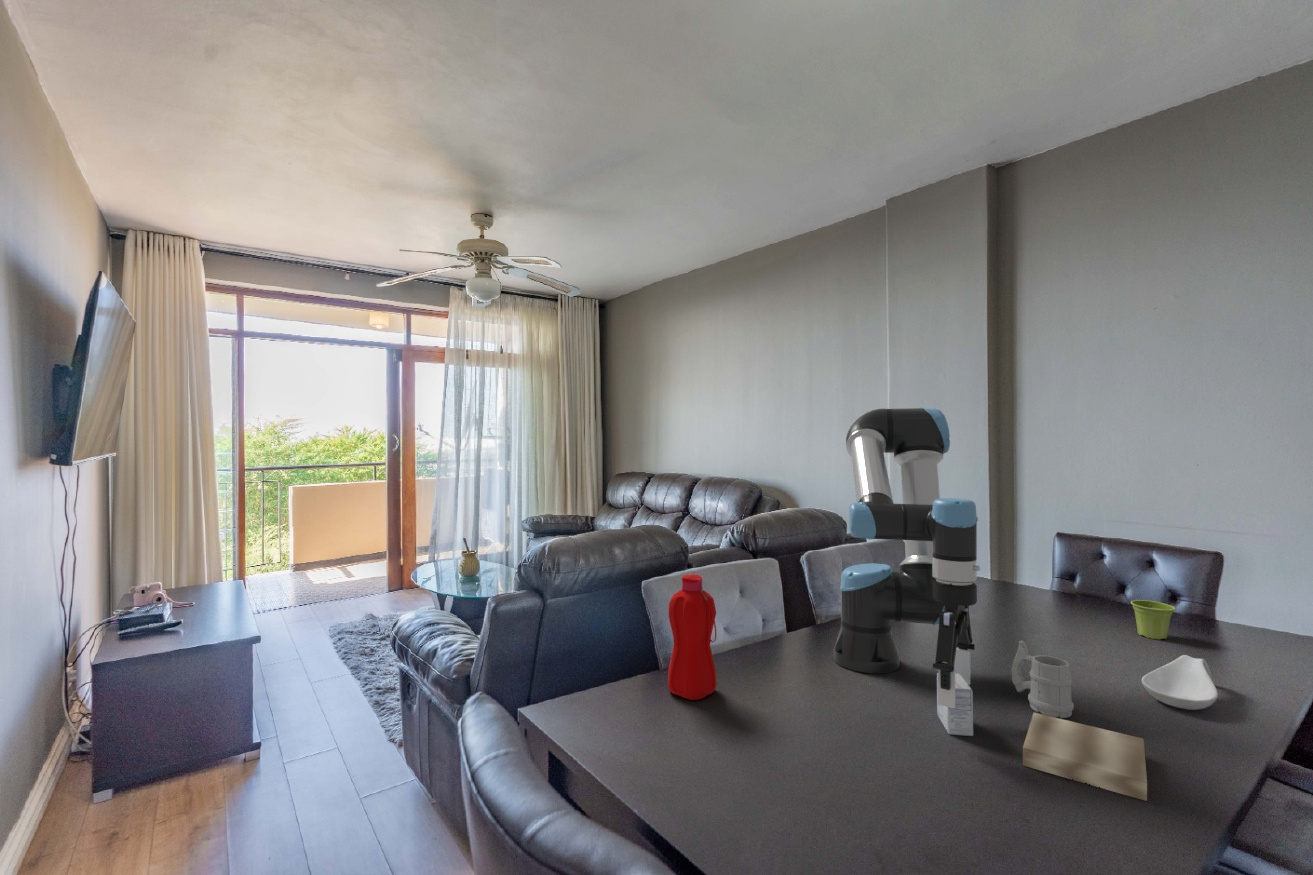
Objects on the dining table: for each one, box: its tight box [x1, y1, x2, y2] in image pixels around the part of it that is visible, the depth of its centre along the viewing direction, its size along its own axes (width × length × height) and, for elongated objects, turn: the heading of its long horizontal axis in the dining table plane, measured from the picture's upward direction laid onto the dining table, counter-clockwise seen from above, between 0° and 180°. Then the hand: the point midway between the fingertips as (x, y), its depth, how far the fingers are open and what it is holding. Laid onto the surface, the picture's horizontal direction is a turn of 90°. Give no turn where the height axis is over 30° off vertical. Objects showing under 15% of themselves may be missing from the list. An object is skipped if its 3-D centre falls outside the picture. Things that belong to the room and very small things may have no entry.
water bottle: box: [667, 573, 717, 701], centre depth 128 cm, size 9×11×25 cm
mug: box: [1011, 640, 1075, 719], centre depth 122 cm, size 8×12×12 cm, turn 25°
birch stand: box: [1022, 712, 1148, 802], centre depth 101 cm, size 16×16×3 cm
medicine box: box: [936, 672, 974, 737], centre depth 113 cm, size 8×4×9 cm, turn 168°
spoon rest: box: [1141, 654, 1219, 711], centre depth 126 cm, size 24×12×7 cm, turn 129°
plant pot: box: [1130, 599, 1176, 640], centre depth 164 cm, size 9×9×9 cm
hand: (954, 693), depth 113 cm, fingers open, 13 cm apart
